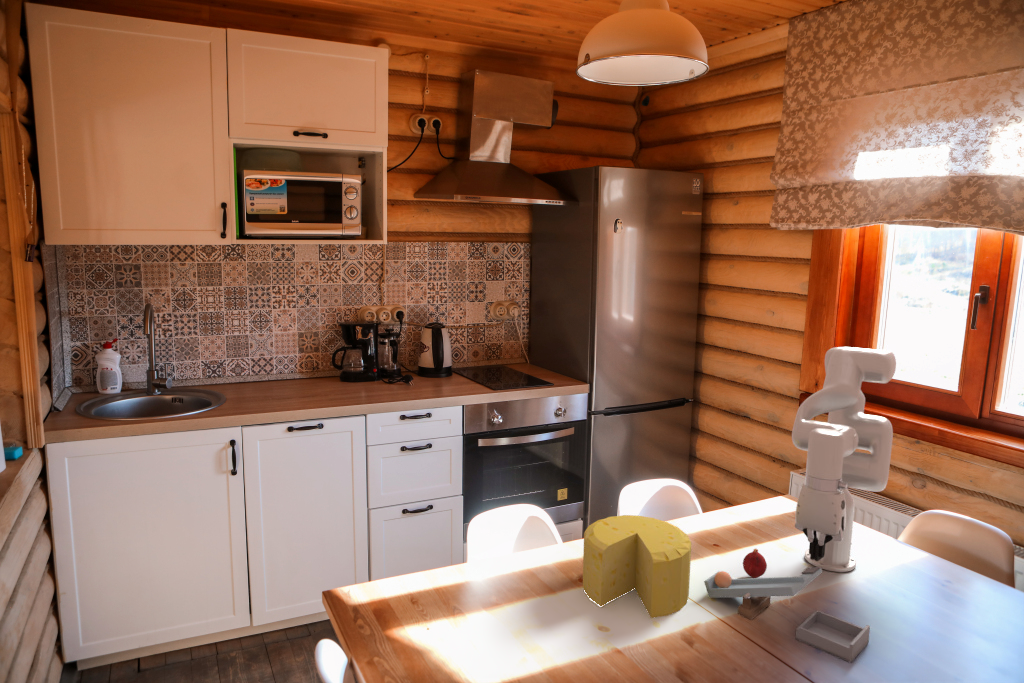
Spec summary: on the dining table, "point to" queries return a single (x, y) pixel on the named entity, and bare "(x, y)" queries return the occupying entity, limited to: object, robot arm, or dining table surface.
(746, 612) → the fulcrum
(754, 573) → the onion
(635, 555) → the cheese
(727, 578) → the ball
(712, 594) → the lever
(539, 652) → the dining table surface
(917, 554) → the dining table surface
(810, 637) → the dish
